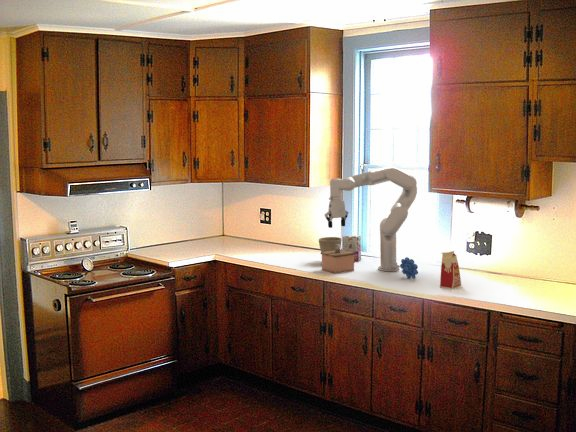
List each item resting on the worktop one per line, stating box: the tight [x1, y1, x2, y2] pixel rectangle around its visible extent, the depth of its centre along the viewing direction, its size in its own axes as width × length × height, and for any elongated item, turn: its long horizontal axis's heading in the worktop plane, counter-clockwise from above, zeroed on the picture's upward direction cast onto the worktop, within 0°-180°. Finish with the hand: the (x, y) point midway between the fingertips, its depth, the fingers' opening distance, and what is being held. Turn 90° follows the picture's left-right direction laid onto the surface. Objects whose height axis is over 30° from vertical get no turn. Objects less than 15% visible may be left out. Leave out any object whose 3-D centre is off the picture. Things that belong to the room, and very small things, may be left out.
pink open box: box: [321, 254, 355, 275], centre depth 400 cm, size 14×14×10 cm
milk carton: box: [439, 250, 462, 291], centre depth 350 cm, size 9×9×20 cm
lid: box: [320, 244, 355, 258], centre depth 399 cm, size 15×15×7 cm
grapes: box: [399, 256, 419, 279], centre depth 373 cm, size 12×7×12 cm, turn 49°
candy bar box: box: [342, 234, 362, 262], centre depth 428 cm, size 11×5×16 cm, turn 62°
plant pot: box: [318, 236, 343, 253], centre depth 421 cm, size 15×15×16 cm
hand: (336, 226), depth 397 cm, fingers open, 9 cm apart
